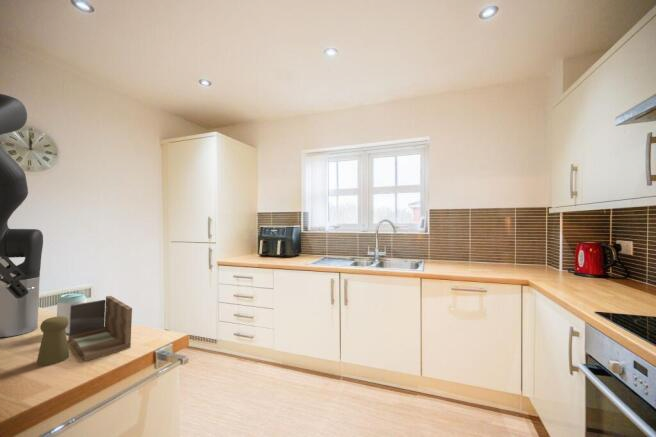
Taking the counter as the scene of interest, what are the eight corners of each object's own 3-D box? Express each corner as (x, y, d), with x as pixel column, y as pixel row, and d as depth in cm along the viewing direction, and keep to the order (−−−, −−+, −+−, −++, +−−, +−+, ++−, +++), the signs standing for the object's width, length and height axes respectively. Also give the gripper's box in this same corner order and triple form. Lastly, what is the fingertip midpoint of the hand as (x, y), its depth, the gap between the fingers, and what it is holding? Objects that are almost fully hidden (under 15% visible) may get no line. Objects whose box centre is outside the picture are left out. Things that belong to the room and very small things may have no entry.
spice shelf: (68, 339, 83) (69, 302, 83) (109, 330, 91) (110, 295, 91) (85, 361, 71) (87, 316, 71) (130, 347, 79) (132, 308, 79)
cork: (36, 368, 67) (38, 323, 67) (36, 359, 71) (38, 317, 71) (70, 360, 71) (71, 318, 71) (68, 352, 75) (69, 312, 75)
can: (59, 337, 84) (61, 298, 84) (53, 332, 88) (54, 295, 88) (88, 330, 90) (90, 294, 90) (81, 325, 94) (82, 290, 94)
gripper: (1, 226, 58) (49, 283, 66) (-58, 233, 59) (-4, 288, 67) (-41, 247, 51) (18, 307, 59) (-107, 254, 52) (-40, 312, 60)
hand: (6, 297), depth 63 cm, fingers open, 8 cm apart
